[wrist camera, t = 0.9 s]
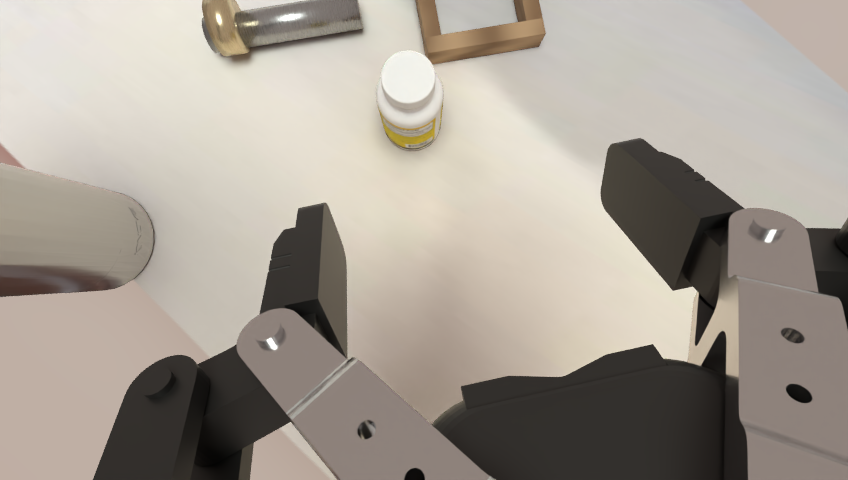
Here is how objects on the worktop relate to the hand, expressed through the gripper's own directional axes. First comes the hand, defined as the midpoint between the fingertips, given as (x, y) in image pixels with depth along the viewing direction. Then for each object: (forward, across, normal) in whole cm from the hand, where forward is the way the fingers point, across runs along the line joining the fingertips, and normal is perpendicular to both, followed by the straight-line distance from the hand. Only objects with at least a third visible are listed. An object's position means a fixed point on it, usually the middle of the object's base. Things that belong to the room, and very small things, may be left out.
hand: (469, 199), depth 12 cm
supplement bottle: (+28, 0, +10) cm, 29 cm away
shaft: (+35, +9, +2) cm, 37 cm away
